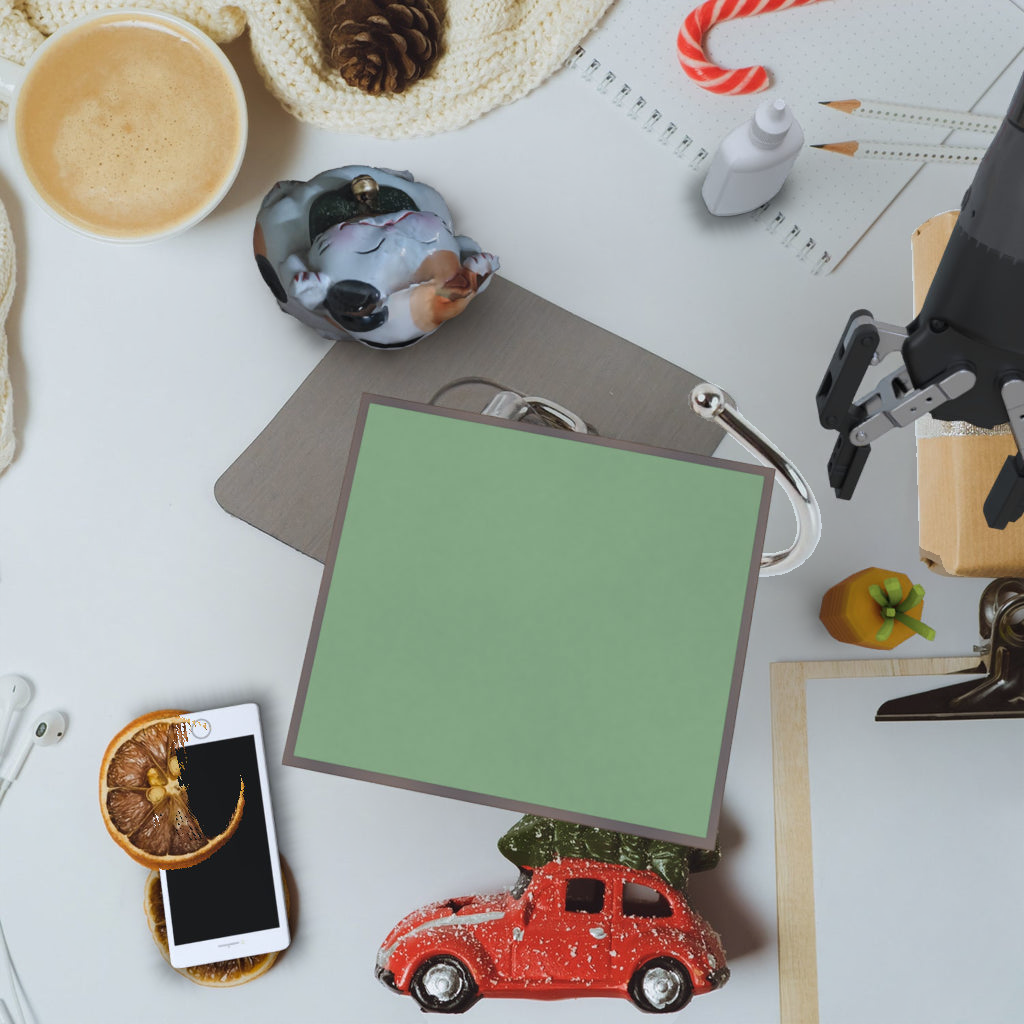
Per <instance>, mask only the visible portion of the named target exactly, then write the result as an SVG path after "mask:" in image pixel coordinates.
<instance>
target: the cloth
mask: <svg viewBox="0 0 1024 1024" xmlns="http://www.w3.org/2000/svg"><path fill="white" fill-rule="evenodd" d="M763 484H764V476H760V475H755V474H750V473H744V472H739V471H734V470H728V469H723V468H717V467H712V466H707V465H701V464H696V463H690V462H685V461H680V460H674V459H669V458H664V457H658V456H653V455H647V454H642V453H637V452H631V451H626V450H621V449H615V448H610V447H604V446H599V445H594V444H588V443H583V442H578V441H572V440H567V439H561V438H556V437H551V436H545V435H540V434H535V433H529V432H524V431H518V430H513V429H508V428H502V427H497V426H491V425H486V424H481V423H475V422H470V421H465V420H459V419H454V418H448V417H443V416H438V415H432V414H427V413H422V412H416V411H411V410H405V409H400V408H395V407H389V406H384V405H379V404H373V403H370V405H369V410H368V414H367V419H366V424H365V428H364V433H363V437H362V442H361V447H360V451H359V456H358V460H357V465H356V470H355V474H354V479H353V483H352V488H351V493H350V497H349V502H348V506H347V511H346V516H345V520H344V525H343V530H342V534H341V539H340V543H339V548H338V553H337V557H336V562H335V566H334V571H333V576H332V580H331V585H330V589H329V594H328V599H327V603H326V608H325V612H324V617H323V622H322V626H321V631H320V636H319V640H318V645H317V649H316V654H315V659H314V663H313V668H312V672H311V677H310V682H309V686H308V691H307V695H306V700H305V705H304V709H303V714H302V719H301V723H300V728H299V732H298V737H297V742H296V746H295V751H294V756H297V757H302V758H307V759H312V760H317V761H322V762H327V763H332V764H337V765H342V766H347V767H352V768H357V769H362V770H367V771H372V772H377V773H382V774H387V775H392V776H397V777H402V778H407V779H412V780H417V781H422V782H427V783H432V784H437V785H442V786H447V787H452V788H457V789H462V790H467V791H472V792H477V793H482V794H487V795H492V796H497V797H502V798H507V799H512V800H517V801H522V802H527V803H532V804H537V805H542V806H547V807H552V808H557V809H562V810H567V811H572V812H577V813H582V814H587V815H592V816H597V817H602V818H607V819H612V820H617V821H622V822H627V823H632V824H637V825H642V826H647V827H652V828H657V829H662V830H667V831H672V832H677V833H682V834H687V835H692V836H697V837H702V838H706V836H707V830H708V824H709V818H710V812H711V805H712V799H713V793H714V787H715V781H716V774H717V768H718V762H719V756H720V750H721V744H722V737H723V731H724V725H725V719H726V713H727V706H728V700H729V694H730V688H731V682H732V675H733V669H734V663H735V657H736V651H737V645H738V638H739V632H740V626H741V620H742V614H743V607H744V601H745V595H746V589H747V583H748V576H749V570H750V564H751V558H752V552H753V546H754V539H755V533H756V527H757V521H758V515H759V508H760V502H761V496H762V490H763Z"/></svg>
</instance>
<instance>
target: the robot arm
mask: <svg viewBox="0 0 1024 1024" xmlns="http://www.w3.org/2000/svg"><path fill="white" fill-rule="evenodd" d="M1021 73H1022V74H1021V76H1020V78H1019V81H1018V83H1017V86H1016V88H1015V91H1014V93H1013V96H1012V98H1011V100H1010V103H1009V104H1008V105H1009V106H1008V108H1007V110H1006V114H1005V116H1004V118H1003V120H1002V121H1001V124H1000V126H999V129H998V131H997V132H996V134H995V135H994V137H993V139H992V141H991V143H990V144H989V146H988V148H987V149H986V152H985V154H984V155H983V157H982V159H981V161H980V163H979V165H978V167H977V170H976V172H975V174H974V176H973V179H972V182H971V184H970V185H969V187H968V188H967V189H966V190H965V193H964V195H963V197H962V200H961V203H960V212H959V213H958V216H957V219H956V221H955V224H954V226H953V229H952V231H951V234H950V236H949V239H948V241H947V243H946V246H945V249H944V251H943V254H942V256H941V259H940V261H939V264H938V266H937V267H936V271H935V273H934V276H933V279H932V281H931V283H930V285H929V288H928V291H927V293H926V296H925V299H924V302H923V305H922V307H921V309H920V311H919V313H918V315H917V316H916V317H915V318H913V320H912V321H911V322H909V323H908V324H907V325H906V326H905V327H904V326H900V325H896V324H891V323H886V322H883V321H879V320H875V318H874V314H873V313H872V312H871V311H870V310H869V309H866V308H859V309H856V310H854V311H853V312H852V313H851V314H850V316H849V318H848V320H847V322H846V325H845V327H844V330H843V332H842V334H841V337H840V339H839V341H838V343H837V346H836V348H835V350H834V352H833V355H832V357H831V358H830V359H831V360H830V362H829V365H828V367H827V369H826V371H825V373H824V376H823V377H822V380H821V382H820V385H819V387H818V390H817V392H816V394H815V401H816V402H815V403H816V409H817V413H818V421H819V424H820V426H821V427H822V428H823V429H824V430H828V431H833V430H835V431H836V432H838V435H837V436H838V437H837V438H836V441H835V444H834V447H833V449H832V452H831V454H830V457H829V459H828V462H827V464H826V469H827V476H828V481H829V482H828V483H829V487H830V488H832V489H833V490H834V495H835V498H836V499H837V500H843V501H849V502H850V501H851V500H852V498H853V495H854V492H855V490H856V488H857V485H858V483H859V481H860V479H861V476H862V473H863V471H864V468H865V467H866V463H867V461H868V459H869V456H870V454H871V451H872V446H871V443H872V442H873V441H875V440H877V439H878V438H880V437H881V436H883V435H884V434H886V433H888V432H890V431H891V430H893V429H895V428H898V429H902V428H905V427H907V426H909V425H910V424H912V423H913V422H915V421H916V420H918V419H920V418H921V417H923V416H924V415H926V414H930V416H931V418H932V419H933V420H935V421H936V420H938V421H942V422H948V423H949V422H965V423H967V424H970V425H971V426H973V427H976V428H980V429H986V430H991V431H992V430H993V429H994V427H995V426H1002V425H1006V424H1008V427H1009V430H1010V433H1011V435H1012V439H1013V441H1014V444H1015V446H1016V449H1017V452H1016V454H1015V455H1012V454H1008V455H1007V457H1006V459H1005V461H1004V462H1003V465H1002V467H1001V468H1000V471H999V473H998V475H997V477H995V478H996V479H995V481H994V483H993V484H992V487H991V488H990V491H989V492H988V494H987V495H986V498H985V500H984V502H983V506H982V514H983V516H984V518H985V521H986V524H987V527H988V528H989V529H993V530H994V529H995V530H999V531H1004V530H1005V529H1006V528H1007V526H1008V525H1009V523H1016V522H1017V521H1019V519H1021V517H1023V515H1024V70H1023V71H1022V72H1021ZM894 352H900V354H901V357H902V360H903V363H904V364H903V365H901V366H899V367H898V368H897V369H895V370H894V371H892V372H891V373H889V374H888V375H886V376H885V377H883V378H882V379H880V381H879V382H878V383H877V385H876V387H875V388H874V389H873V390H872V391H870V392H868V393H867V394H866V395H864V396H863V397H861V398H859V399H858V400H856V401H855V402H853V401H854V400H855V397H856V395H857V392H858V391H859V388H860V386H861V384H862V382H863V380H864V377H865V375H866V373H867V371H868V368H869V366H870V367H871V366H872V367H877V366H878V365H879V364H880V363H882V362H883V361H884V360H885V358H886V357H887V356H888V355H889V354H891V353H894ZM912 389H913V391H912V392H910V390H912ZM909 392H910V393H909ZM908 393H909V394H908Z"/></svg>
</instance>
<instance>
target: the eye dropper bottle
mask: <svg viewBox="0 0 1024 1024" xmlns="http://www.w3.org/2000/svg"><path fill="white" fill-rule="evenodd" d="M804 144H805V134H804V131H803V129H802V126H801V124H800V122H799V121H798V119H797V118H796V116H794V114H793V110H792V108H791V106H790V105H789V104H788V103H787V102H785V101H784V100H783V99H782V98H778V99H777V98H769V99H766V100H764V101H762V102H761V103H759V104H758V105H757V107H756V109H755V111H754V113H753V116H752V118H750V119H748V120H746V121H744V122H742V123H741V124H739V125H737V126H736V127H735V128H733V129H732V130H731V131H730V132H729V133H728V134H727V135H726V136H724V138H723V139H722V140H721V141H720V143H719V145H718V147H717V149H716V151H715V154H714V156H713V159H712V161H711V163H710V167H709V169H708V171H707V174H706V177H705V180H704V183H703V185H702V188H701V196H702V199H703V201H704V203H705V205H706V208H707V209H708V212H710V214H711V215H713V216H716V217H730V216H731V217H732V216H739V215H743V214H746V213H749V212H752V211H754V210H756V209H759V208H760V207H762V206H763V205H765V204H766V203H767V202H769V201H770V200H771V199H773V198H774V197H775V196H776V195H777V194H778V193H779V192H780V190H781V189H782V187H783V185H784V183H785V181H786V179H787V178H788V176H789V174H790V172H791V170H792V168H793V166H794V164H795V162H796V161H797V159H798V157H799V154H800V153H801V150H802V149H803V146H804Z"/></svg>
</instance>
